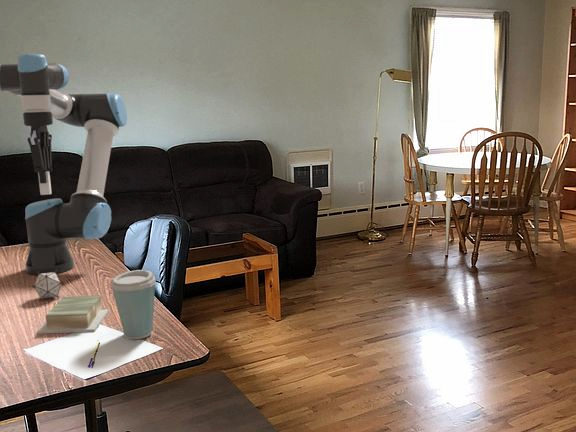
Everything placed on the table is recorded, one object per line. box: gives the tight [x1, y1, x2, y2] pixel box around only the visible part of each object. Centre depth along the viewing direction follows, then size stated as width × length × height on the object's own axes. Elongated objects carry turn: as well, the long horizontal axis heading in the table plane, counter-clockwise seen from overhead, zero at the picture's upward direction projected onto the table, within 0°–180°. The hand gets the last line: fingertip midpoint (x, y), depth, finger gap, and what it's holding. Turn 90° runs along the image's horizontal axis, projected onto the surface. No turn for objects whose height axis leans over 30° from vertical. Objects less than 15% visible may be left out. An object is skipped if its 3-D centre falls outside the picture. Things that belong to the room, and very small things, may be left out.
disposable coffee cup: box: [110, 269, 157, 340], centre depth 150 cm, size 11×11×15 cm
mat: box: [36, 308, 109, 335], centre depth 160 cm, size 14×14×1 cm
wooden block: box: [45, 295, 103, 329], centre depth 161 cm, size 4×10×14 cm
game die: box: [31, 270, 65, 302], centre depth 179 cm, size 9×8×10 cm
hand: (46, 194), depth 179 cm, fingers closed
